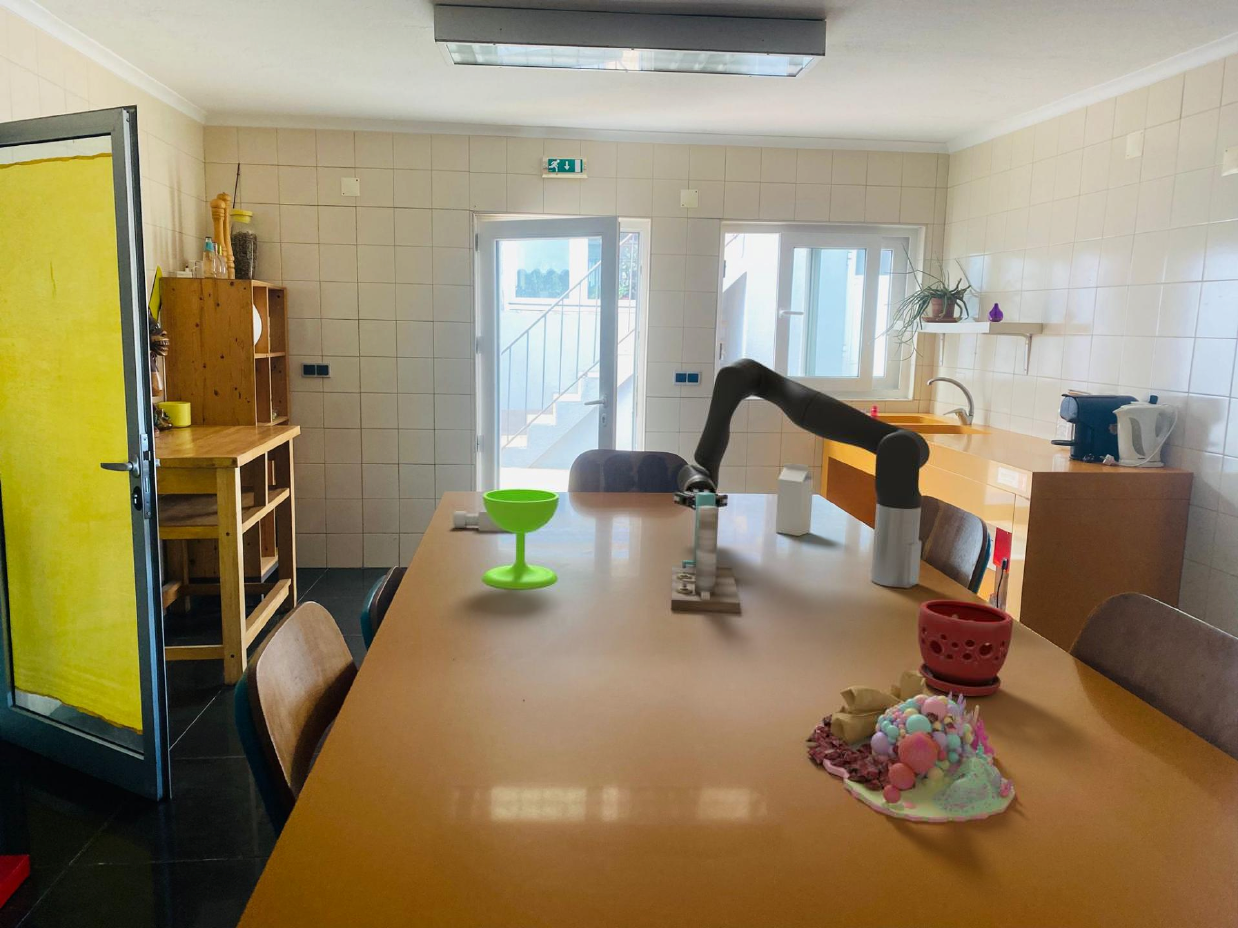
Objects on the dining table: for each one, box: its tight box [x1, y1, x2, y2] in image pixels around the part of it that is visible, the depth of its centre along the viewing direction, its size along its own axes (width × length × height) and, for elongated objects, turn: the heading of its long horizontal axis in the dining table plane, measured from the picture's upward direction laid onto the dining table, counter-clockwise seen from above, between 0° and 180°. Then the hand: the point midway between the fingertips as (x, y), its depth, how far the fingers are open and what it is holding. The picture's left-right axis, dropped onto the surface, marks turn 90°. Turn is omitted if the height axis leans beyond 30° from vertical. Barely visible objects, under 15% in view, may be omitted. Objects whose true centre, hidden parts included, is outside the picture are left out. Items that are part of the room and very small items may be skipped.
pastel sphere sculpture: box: [805, 669, 1016, 823], centre depth 105 cm, size 25×24×9 cm
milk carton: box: [775, 462, 814, 537], centre depth 235 cm, size 7×7×19 cm
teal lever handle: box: [681, 492, 715, 568], centre depth 183 cm, size 4×6×16 cm, turn 86°
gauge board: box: [670, 506, 741, 614], centre depth 176 cm, size 26×13×19 cm, turn 176°
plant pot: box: [917, 599, 1014, 697], centre depth 131 cm, size 13×13×12 cm
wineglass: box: [481, 488, 560, 590], centre depth 182 cm, size 16×16×18 cm
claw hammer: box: [452, 510, 508, 532], centre depth 243 cm, size 6×22×30 cm
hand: (701, 506), depth 190 cm, fingers closed
